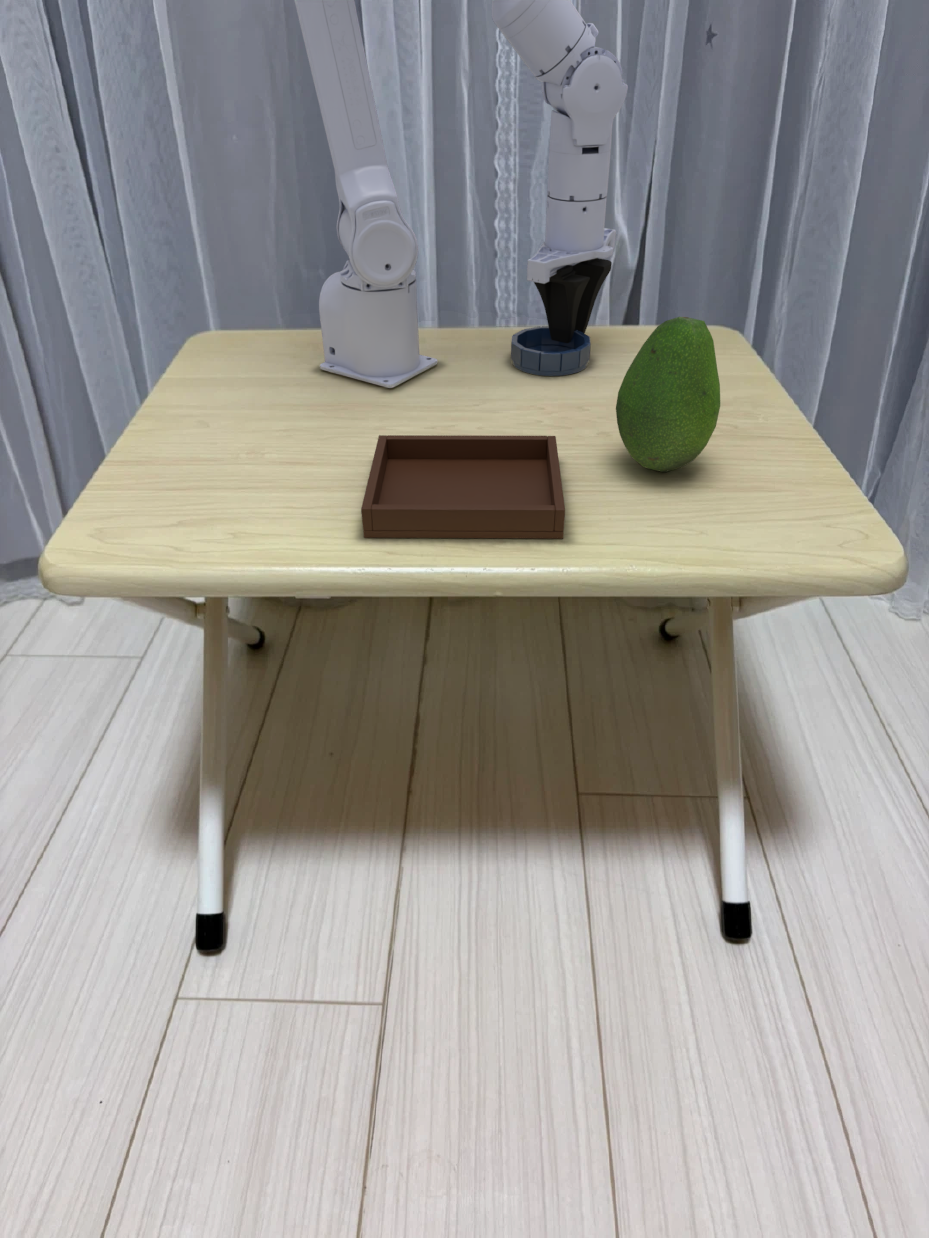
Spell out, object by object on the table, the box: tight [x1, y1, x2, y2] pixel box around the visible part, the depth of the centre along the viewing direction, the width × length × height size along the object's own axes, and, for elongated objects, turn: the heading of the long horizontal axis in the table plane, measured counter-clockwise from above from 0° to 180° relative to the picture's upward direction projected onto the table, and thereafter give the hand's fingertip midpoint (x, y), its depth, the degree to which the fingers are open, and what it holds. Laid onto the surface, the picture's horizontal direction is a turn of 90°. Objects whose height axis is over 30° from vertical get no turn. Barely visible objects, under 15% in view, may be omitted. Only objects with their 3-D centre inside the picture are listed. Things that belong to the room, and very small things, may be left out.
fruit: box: [615, 316, 721, 473], centre depth 67 cm, size 8×8×12 cm
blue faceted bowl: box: [510, 325, 592, 377], centre depth 89 cm, size 8×8×2 cm
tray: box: [360, 434, 566, 540], centre depth 66 cm, size 14×12×2 cm
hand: (568, 336), depth 91 cm, fingers closed
